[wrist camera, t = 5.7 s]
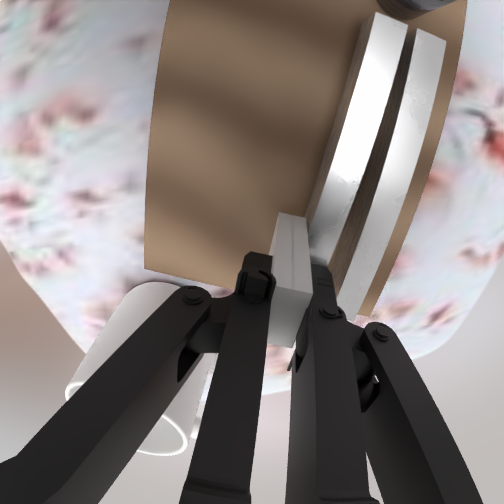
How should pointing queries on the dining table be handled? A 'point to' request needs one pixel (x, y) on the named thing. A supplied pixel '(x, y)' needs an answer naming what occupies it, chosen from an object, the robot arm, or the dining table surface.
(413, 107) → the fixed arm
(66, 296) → the dining table surface
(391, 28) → the light grey long bar
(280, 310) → the robot arm
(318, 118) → the board
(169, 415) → the mug
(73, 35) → the dining table surface
